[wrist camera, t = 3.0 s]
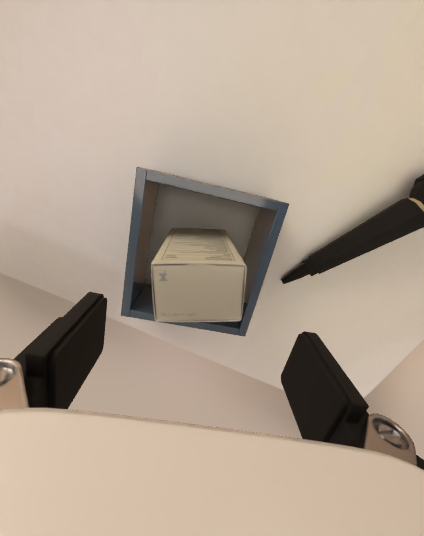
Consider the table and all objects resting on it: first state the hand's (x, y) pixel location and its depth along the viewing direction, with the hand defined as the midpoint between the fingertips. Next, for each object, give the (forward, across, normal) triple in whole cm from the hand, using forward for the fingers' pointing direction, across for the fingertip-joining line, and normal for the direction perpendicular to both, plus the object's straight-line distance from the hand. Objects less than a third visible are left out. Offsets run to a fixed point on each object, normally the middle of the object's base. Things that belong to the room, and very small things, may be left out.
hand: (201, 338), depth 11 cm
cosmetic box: (+17, 0, 0) cm, 17 cm away
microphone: (+17, -16, -6) cm, 24 cm away
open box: (+16, 0, 0) cm, 17 cm away
